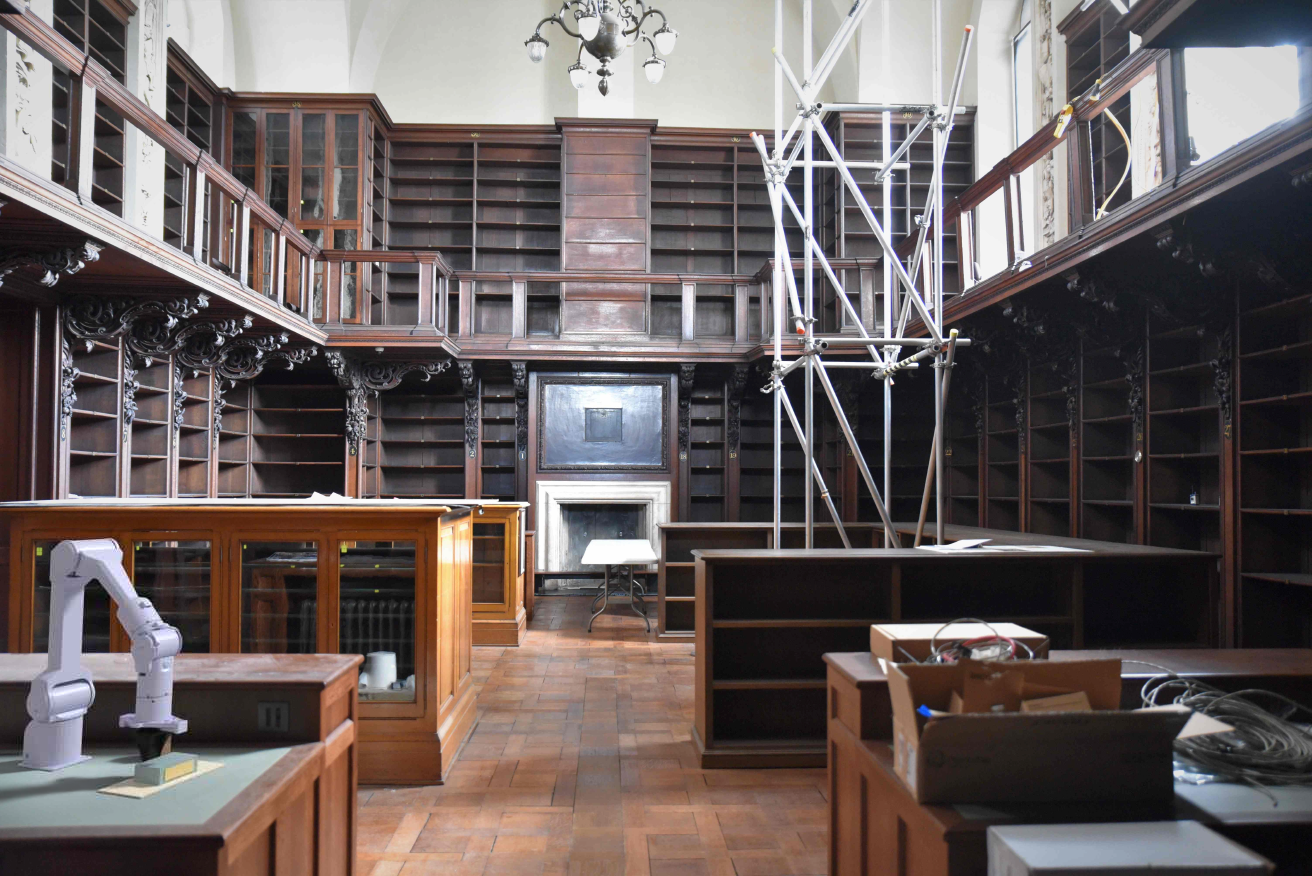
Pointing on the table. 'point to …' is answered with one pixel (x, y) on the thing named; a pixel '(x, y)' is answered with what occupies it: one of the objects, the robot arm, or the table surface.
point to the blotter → (144, 790)
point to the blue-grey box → (165, 768)
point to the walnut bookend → (166, 747)
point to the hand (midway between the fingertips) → (150, 768)
